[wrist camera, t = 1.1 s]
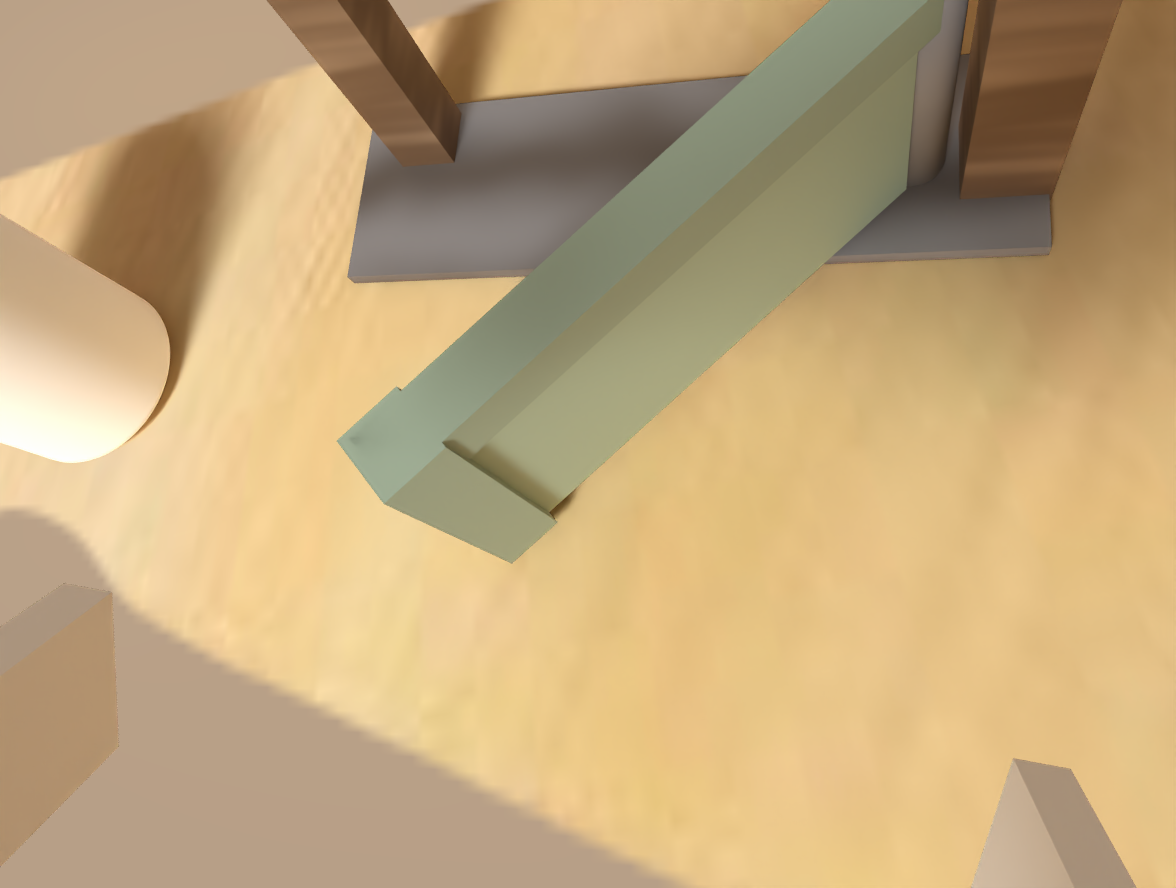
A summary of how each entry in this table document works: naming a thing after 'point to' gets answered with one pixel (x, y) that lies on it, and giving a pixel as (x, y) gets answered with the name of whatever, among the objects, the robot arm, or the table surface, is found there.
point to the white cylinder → (72, 353)
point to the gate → (668, 274)
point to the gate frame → (655, 121)
